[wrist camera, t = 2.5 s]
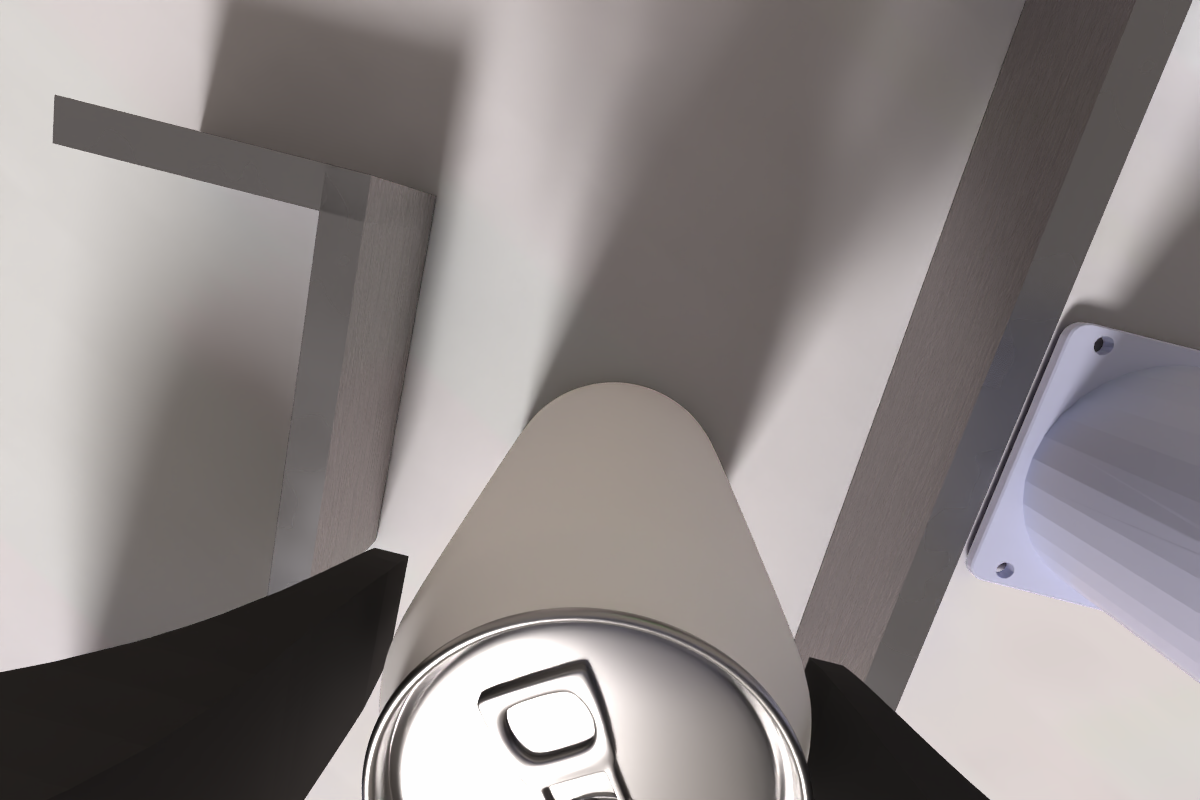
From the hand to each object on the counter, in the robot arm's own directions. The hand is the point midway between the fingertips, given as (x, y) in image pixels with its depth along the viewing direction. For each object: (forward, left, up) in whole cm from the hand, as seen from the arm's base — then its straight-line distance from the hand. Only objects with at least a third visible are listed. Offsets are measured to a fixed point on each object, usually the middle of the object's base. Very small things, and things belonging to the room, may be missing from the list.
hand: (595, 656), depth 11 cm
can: (0, 0, -9) cm, 9 cm away
